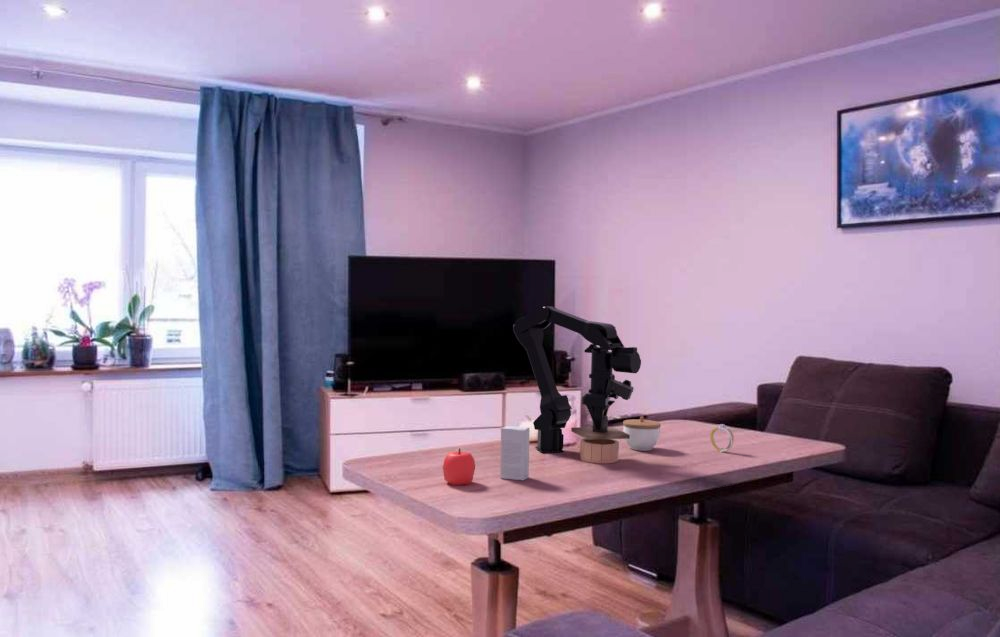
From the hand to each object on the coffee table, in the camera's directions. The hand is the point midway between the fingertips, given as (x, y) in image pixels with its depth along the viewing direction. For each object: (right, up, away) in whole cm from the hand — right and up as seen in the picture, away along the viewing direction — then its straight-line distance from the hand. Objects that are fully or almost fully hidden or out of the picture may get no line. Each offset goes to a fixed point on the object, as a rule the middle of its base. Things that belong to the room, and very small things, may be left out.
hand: (599, 428), depth 199 cm
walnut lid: (0, -2, 0) cm, 2 cm away
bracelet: (+37, -9, +15) cm, 41 cm away
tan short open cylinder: (0, -9, 0) cm, 9 cm away
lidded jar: (+14, -9, +17) cm, 24 cm away
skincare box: (-23, -9, -23) cm, 34 cm away
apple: (-36, -9, -29) cm, 47 cm away
